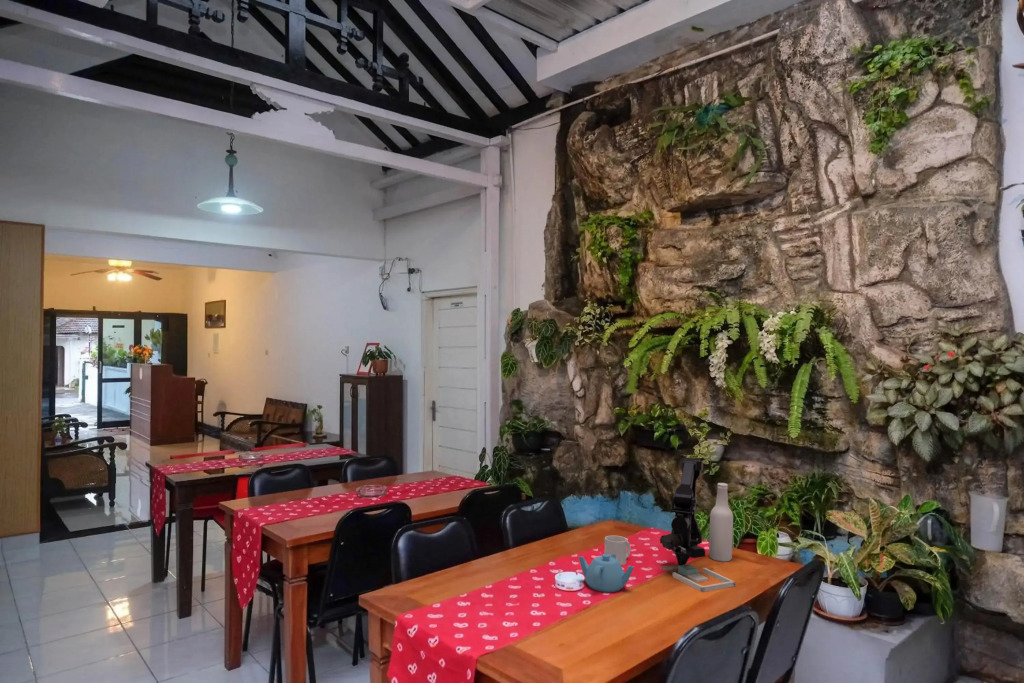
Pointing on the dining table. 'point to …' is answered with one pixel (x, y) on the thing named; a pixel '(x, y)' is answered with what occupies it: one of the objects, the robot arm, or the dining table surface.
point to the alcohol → (721, 527)
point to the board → (673, 569)
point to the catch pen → (726, 584)
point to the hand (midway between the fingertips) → (681, 568)
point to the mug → (617, 547)
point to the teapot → (605, 573)
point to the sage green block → (687, 570)
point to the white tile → (698, 577)
